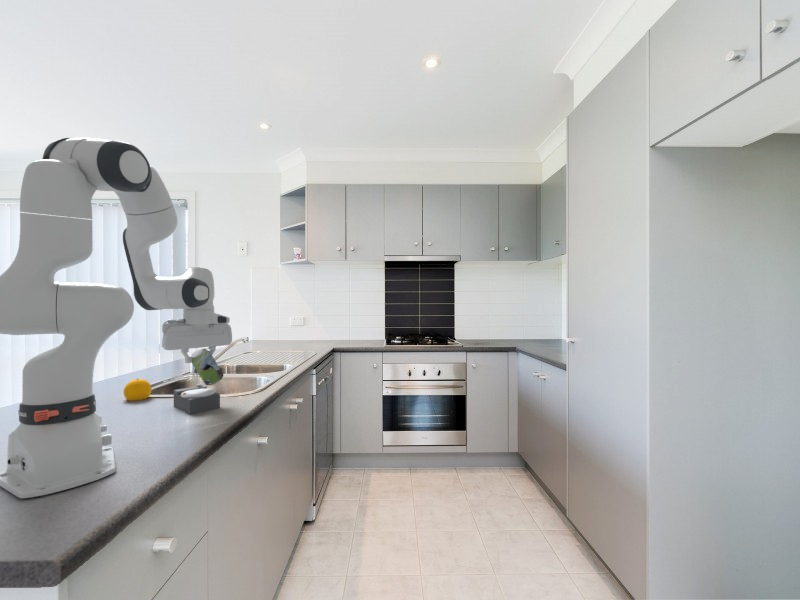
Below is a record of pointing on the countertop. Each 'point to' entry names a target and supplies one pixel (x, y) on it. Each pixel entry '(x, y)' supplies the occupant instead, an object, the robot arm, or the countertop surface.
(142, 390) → the apple
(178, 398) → the body block
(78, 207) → the robot arm
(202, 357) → the beverage can
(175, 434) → the countertop surface
